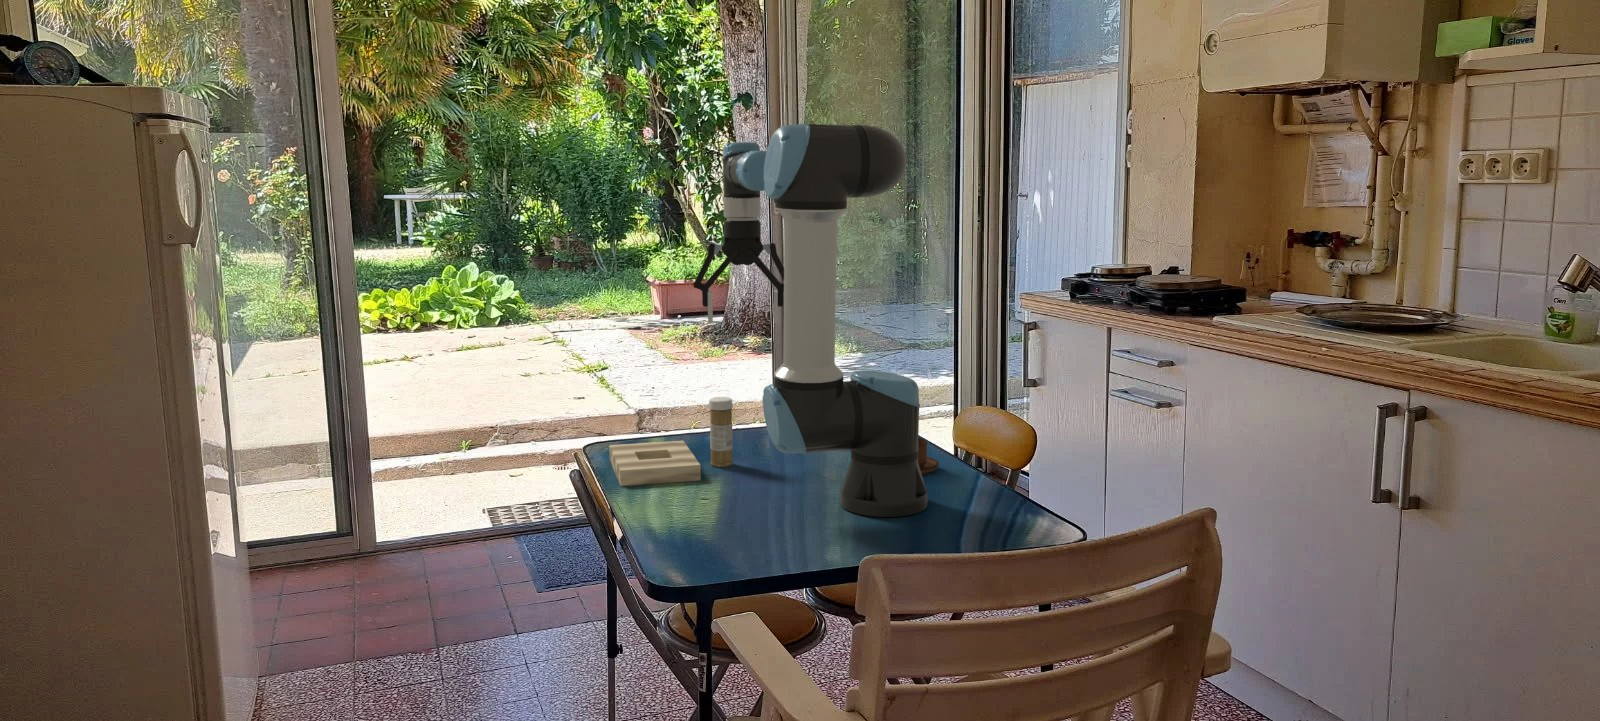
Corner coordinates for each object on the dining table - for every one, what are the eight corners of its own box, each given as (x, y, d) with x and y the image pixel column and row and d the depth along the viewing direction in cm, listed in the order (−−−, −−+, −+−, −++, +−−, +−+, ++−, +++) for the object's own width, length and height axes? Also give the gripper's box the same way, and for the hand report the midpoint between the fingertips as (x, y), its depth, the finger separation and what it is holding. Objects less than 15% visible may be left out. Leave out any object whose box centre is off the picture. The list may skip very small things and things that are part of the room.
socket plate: (700, 480, 209) (700, 464, 208) (620, 486, 205) (620, 470, 204) (683, 454, 228) (683, 440, 227) (609, 459, 224) (609, 445, 223)
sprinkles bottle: (722, 460, 223) (721, 395, 221) (737, 464, 220) (737, 398, 218) (705, 465, 220) (704, 398, 217) (721, 469, 216) (720, 401, 214)
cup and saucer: (936, 481, 208) (936, 449, 207) (872, 478, 211) (873, 446, 210) (940, 465, 220) (941, 435, 219) (880, 462, 222) (881, 432, 221)
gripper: (803, 218, 230) (803, 320, 233) (682, 218, 230) (684, 320, 233) (803, 219, 222) (803, 324, 226) (679, 220, 222) (681, 324, 226)
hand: (743, 322), depth 229 cm, fingers open, 13 cm apart
